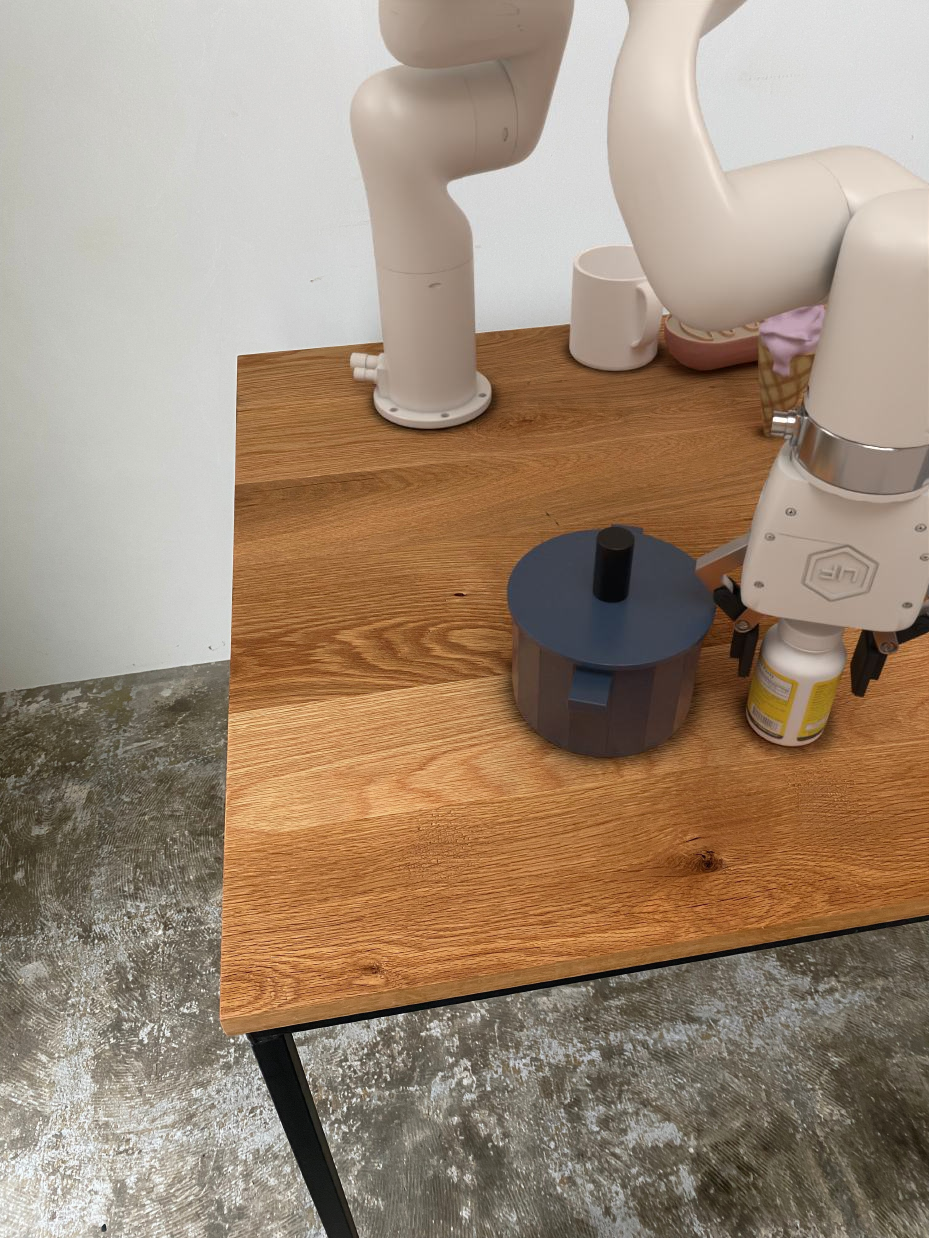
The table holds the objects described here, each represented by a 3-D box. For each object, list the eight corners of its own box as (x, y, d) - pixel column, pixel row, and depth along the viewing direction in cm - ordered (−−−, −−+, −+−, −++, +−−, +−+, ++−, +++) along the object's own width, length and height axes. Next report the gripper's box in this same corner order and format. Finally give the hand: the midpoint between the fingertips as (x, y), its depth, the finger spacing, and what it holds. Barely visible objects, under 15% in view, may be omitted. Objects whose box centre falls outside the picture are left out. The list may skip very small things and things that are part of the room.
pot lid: (485, 657, 59) (483, 591, 56) (530, 529, 69) (531, 465, 65) (706, 694, 57) (720, 626, 53) (720, 555, 66) (733, 489, 62)
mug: (553, 342, 109) (556, 255, 102) (626, 324, 112) (634, 238, 105) (609, 390, 101) (617, 297, 94) (687, 368, 104) (700, 277, 97)
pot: (486, 769, 63) (484, 676, 57) (540, 596, 76) (542, 506, 70) (677, 805, 61) (696, 712, 55) (699, 620, 74) (716, 529, 68)
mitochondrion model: (677, 390, 100) (683, 347, 97) (646, 349, 107) (650, 307, 104) (874, 364, 103) (887, 321, 100) (831, 325, 110) (841, 284, 107)
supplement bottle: (821, 696, 67) (856, 594, 61) (825, 754, 63) (862, 651, 57) (744, 686, 68) (769, 584, 62) (743, 742, 64) (770, 640, 58)
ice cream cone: (804, 456, 90) (841, 307, 80) (738, 451, 91) (766, 303, 81) (800, 421, 95) (835, 275, 85) (737, 416, 96) (764, 272, 86)
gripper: (699, 460, 50) (662, 690, 62) (1058, 501, 46) (944, 737, 58) (709, 391, 55) (673, 616, 67) (1032, 423, 51) (932, 654, 63)
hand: (799, 670), depth 62 cm, fingers open, 6 cm apart
